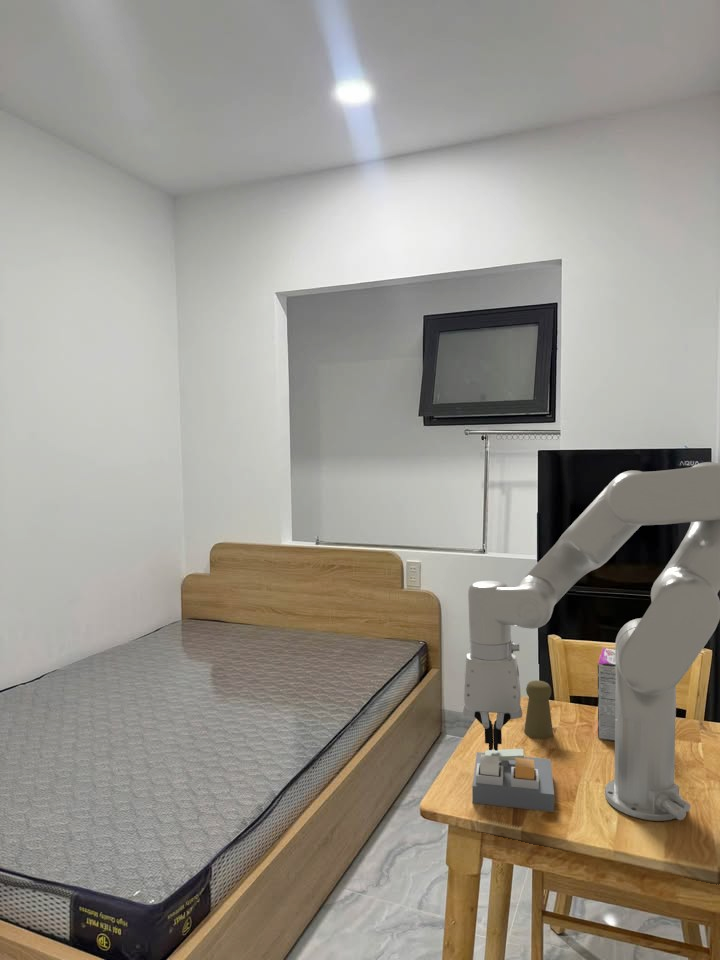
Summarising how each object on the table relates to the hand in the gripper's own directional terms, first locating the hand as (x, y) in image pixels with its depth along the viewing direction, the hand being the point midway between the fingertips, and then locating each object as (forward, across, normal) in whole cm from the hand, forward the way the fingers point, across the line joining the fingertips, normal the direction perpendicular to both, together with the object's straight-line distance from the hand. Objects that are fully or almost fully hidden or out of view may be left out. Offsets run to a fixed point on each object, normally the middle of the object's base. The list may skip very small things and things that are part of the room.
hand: (493, 747), depth 124 cm
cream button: (+2, +1, +6) cm, 6 cm away
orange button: (+2, -5, +6) cm, 8 cm away
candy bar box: (+7, -24, -26) cm, 36 cm away
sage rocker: (+2, -2, 0) cm, 3 cm away
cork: (+6, -9, -22) cm, 24 cm away
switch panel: (+6, -3, +3) cm, 8 cm away
